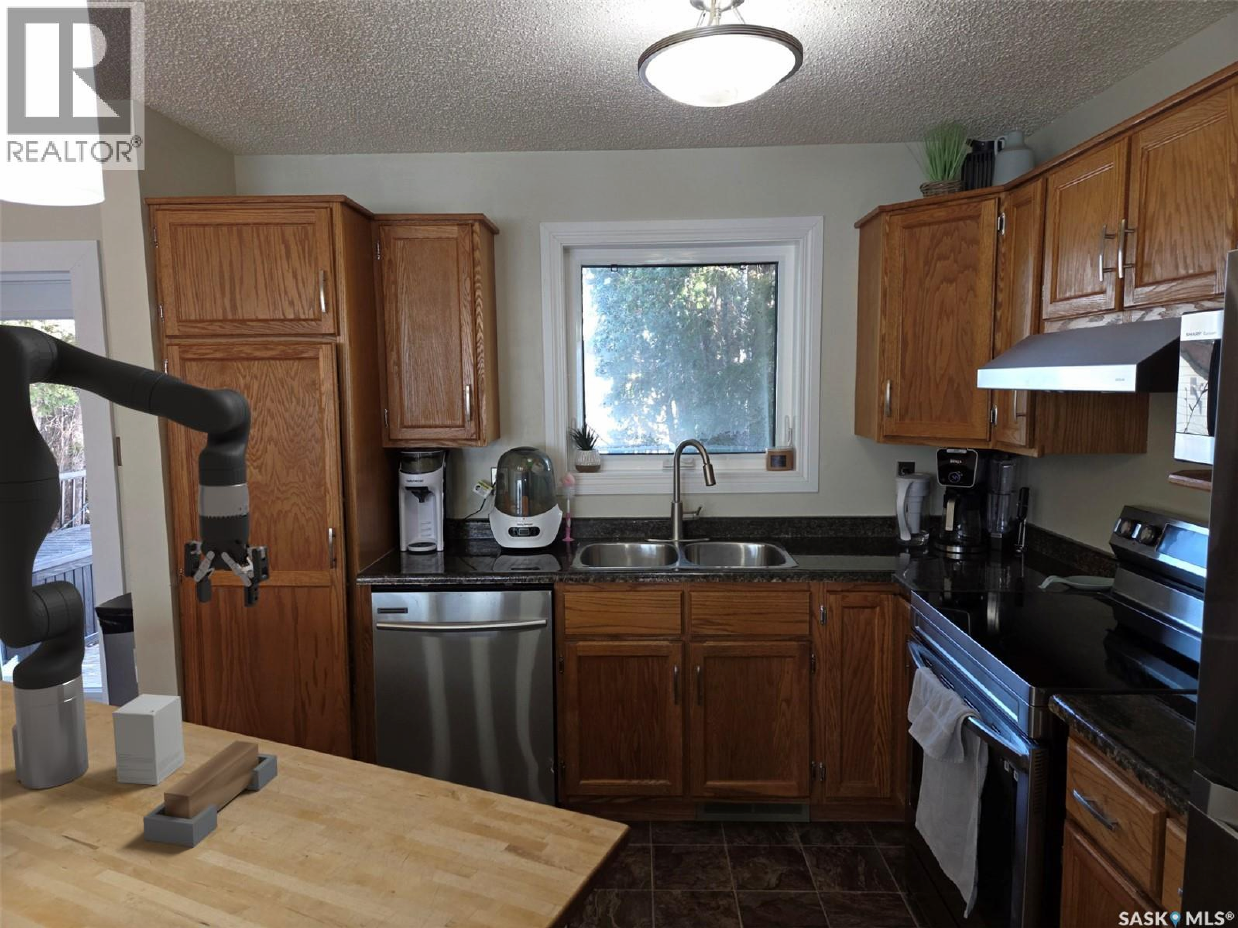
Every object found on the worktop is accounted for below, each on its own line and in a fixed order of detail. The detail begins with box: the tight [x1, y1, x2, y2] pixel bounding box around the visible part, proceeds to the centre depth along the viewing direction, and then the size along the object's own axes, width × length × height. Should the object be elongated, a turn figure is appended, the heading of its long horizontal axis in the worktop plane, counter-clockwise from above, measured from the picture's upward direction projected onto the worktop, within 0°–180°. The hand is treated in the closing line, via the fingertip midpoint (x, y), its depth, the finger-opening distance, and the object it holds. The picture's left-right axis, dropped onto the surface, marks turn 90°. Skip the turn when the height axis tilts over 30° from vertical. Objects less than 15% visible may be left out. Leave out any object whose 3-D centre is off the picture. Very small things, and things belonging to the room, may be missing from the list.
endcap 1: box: [143, 801, 218, 848], centre depth 113 cm, size 8×5×4 cm, turn 80°
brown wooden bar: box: [163, 740, 259, 820], centre depth 120 cm, size 4×16×6 cm, turn 170°
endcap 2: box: [244, 752, 278, 792], centre depth 128 cm, size 8×5×4 cm, turn 80°
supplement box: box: [111, 693, 185, 786], centre depth 129 cm, size 7×7×13 cm
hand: (228, 603), depth 127 cm, fingers open, 8 cm apart
